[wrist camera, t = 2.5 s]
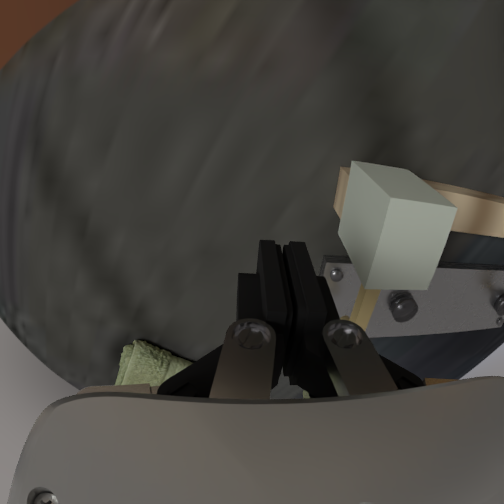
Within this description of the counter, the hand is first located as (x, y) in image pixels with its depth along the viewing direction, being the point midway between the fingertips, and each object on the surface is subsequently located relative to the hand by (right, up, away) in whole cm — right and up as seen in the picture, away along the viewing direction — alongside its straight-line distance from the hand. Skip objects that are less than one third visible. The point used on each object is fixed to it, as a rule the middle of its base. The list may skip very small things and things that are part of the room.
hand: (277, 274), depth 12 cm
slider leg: (+7, +1, +9) cm, 11 cm away
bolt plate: (+17, -3, +14) cm, 22 cm away
